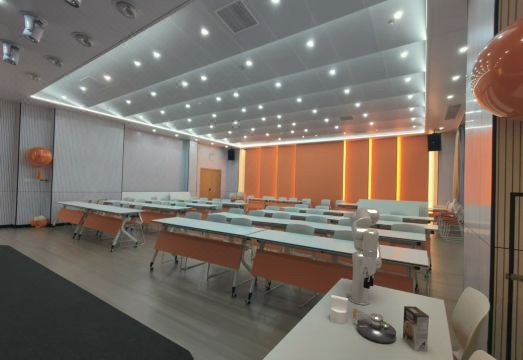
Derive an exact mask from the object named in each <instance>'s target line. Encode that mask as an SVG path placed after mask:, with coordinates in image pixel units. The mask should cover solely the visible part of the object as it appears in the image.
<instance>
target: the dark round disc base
mask: <svg viewBox="0 0 523 360" xmlns="http://www.w3.org/2000/svg"><path fill="white" fill-rule="evenodd" d="M356 330H357V331H358V333H359V334H360V335H361V336H363V337H364V338H366V339H367V340H370V341H373V342H374V343H375V342H376V343H381V344H391V343H393V342H395V341H397V340H396V339H397V331H396V329H395V327H393V326H392V325H391V324H390V323H388V322H385V321H384V320H383V321H382V328H381V329H380V330H377V329H374V328H372V327H371V325H370V324H368V323H365V322H363V321H360V320H358V319H357V321H356Z"/></svg>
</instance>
